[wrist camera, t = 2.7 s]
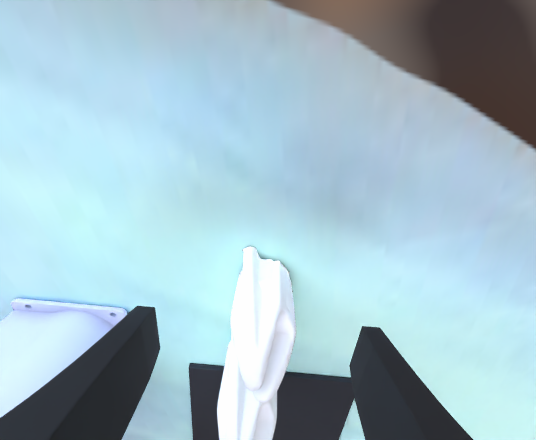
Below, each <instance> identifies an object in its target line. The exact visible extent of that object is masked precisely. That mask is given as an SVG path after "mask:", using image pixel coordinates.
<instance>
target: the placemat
mask: <svg viewBox="0 0 536 440" xmlns="http://www.w3.org/2000/svg"><path fill="white" fill-rule="evenodd" d="M224 367H225V366H215V365H204V364H194V363H190V365H189V379H190V395H191V412H192V428H193V440H219V430H218V418H217V406H218V398H219V393H220V388H221V382H222V377H223V371H224ZM353 400H354V392H353V386H352V379H351V378H344V377H333V376H322V375H312V374H301V373H290V372H285V374H284V377H283V379H282V381H281V384H280V386H279V388H278V390H277V419H276V426H275V430H274V434H273V438H272V440H339V437H340V435H341V432H342V429H343V427H344V424H345V421H346V419H347V416H348V413H349V410H350V408H351V405H352V402H353Z"/></svg>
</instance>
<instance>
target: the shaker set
mask: <svg viewBox="0 0 536 440" xmlns="http://www.w3.org/2000/svg"><path fill="white" fill-rule="evenodd" d="M242 251H243V269H242V271H241V272H240V275H239V279H238V283H237V288H236V292H235V297H234V302H233V306H232V312H231V318H230V326H231V340H230V343H229V345H228V347H227V356H226V362H225V367H224V371H223V377H222V382H221V388H220V393H219V398H218V406H217V418H218V430H219V440H272V438H273V434H274V430H275V426H276V419H277V390H278V388H279V386H280V384H281V381H282V379H283V377H284V374H285V372H286V369H287V366H288V363H289V360H290V357H291V354H292V350H293V346H294V342H295V338H296V322H295V311H294V301H293V293H292V292H293V291H292V283H291V281H290V277H289V272H288V271H287V269H286V268H285V267H284V265H282V263H280V261H278V260H277V261H273V260H271V259H263V260H262V259H261V258H260V257H259V255H258V252H257V250H256V248H255V247H250V246H249V247H248V248H247V247H246V248H245V249H243V250H242Z"/></svg>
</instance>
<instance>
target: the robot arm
mask: <svg viewBox="0 0 536 440" xmlns="http://www.w3.org/2000/svg"><path fill="white" fill-rule="evenodd" d="M11 306H12V308H13V311H12V312H11V313H10V314H9V315H8V316H6V317H5V318H4V319H3V320H2V321H1V322H0V440H121V439H122V437H123V435H124V433H125V431H126V429H127V427H128V425H129V422H130V420H131V418H132V416H133V414H134V412H135V410H136V408H137V405H138V403H139V401H140V399H141V397H142V395H143V393H144V390H145V388H146V386H147V384H148V382H149V379H150V377H151V374H152V371H153V368H154V365H155V362H156V359H157V356H158V353H159V350H160V343H159V335H158V327H157V320H156V312H155V307H144V306H137V307H135V308H134V309H133V310H132V311H131V312H130V313H128V314H127V311H126V310H125V309H123V308H117V307H106V306H96V305H85V304H74V303H64V302H53V301H42V300H32V299H21V298H16V299H14V300H13V301H12V302H11ZM350 372H351V379H352V386H353V392H354V398H355V402H356V406H357V409H358V413H359V417H360V421H361V425H362V429H363V432H364V436H365V440H473V439H472V438H471V437H470V436H469V435H468V434H467V433H466V431H465V430H464V429H463V428H462V427H461V426H460V425H459V424H458V423H457V421H456V420H455V419H454V418H453V417H452V416H451V415H450V414H449V413H448V411H447V410H446V409H445V408H444V407H443V406H442V405H441V403H440V402H439V401H438V400H437V399H436V398H435V396H434V395H433V394H432V393H431V392H430V390H429V389H428V388H427V387H426V385H425V384H424V383H423V382H422V381H421V379H420V378H419V377H418V376H417V375H416V373H415V372H414V371H413V370H412V368H411V367H410V366H409V364H408V363H407V362H406V361H405V359H404V358H403V357H402V356H401V354H400V353H399V352H398V350H397V349H396V348H395V347H394V345H393V344H392V343H391V341H390V340H389V339H388V338H387V336H386V335H385V334H384V332H383V331H382V330H381V329H380V328H377V327H366V326H362V329H361V332H360V335H359V338H358V341H357V344H356V347H355V350H354V353H353V356H352V359H351V362H350Z"/></svg>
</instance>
